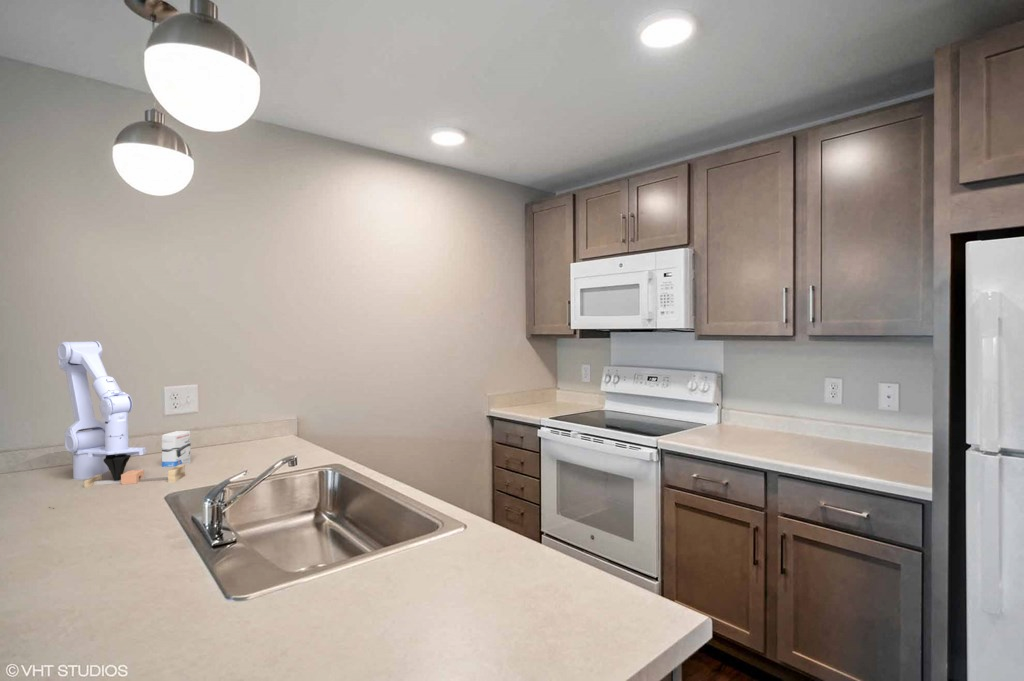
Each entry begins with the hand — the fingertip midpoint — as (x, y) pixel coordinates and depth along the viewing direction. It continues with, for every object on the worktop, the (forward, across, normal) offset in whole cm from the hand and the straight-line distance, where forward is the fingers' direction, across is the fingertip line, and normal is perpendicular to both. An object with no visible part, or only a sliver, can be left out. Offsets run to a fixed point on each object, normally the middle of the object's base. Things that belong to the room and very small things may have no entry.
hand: (117, 479), depth 155 cm
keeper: (+1, +4, 0) cm, 4 cm away
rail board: (+2, +5, 0) cm, 5 cm away
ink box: (+2, +8, +21) cm, 23 cm away
